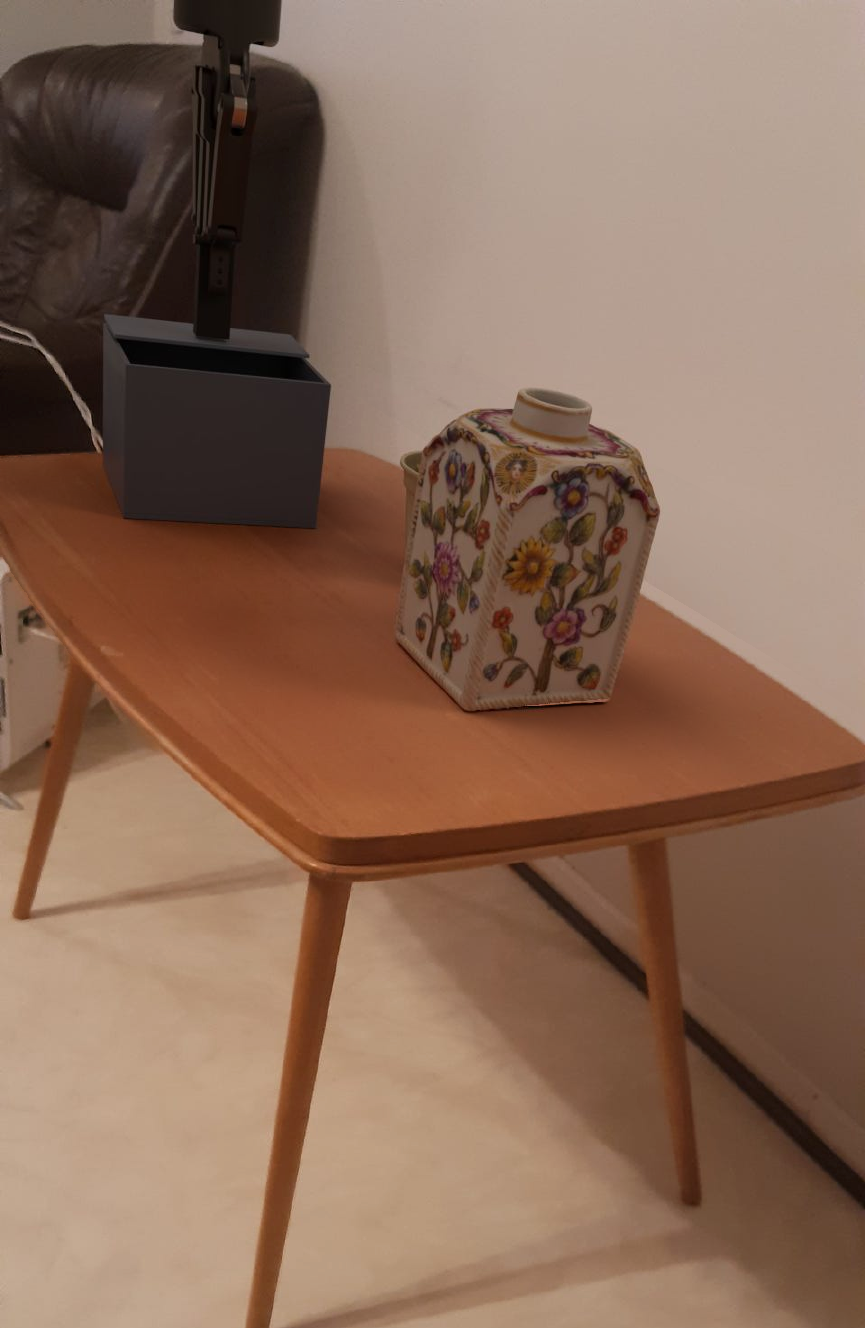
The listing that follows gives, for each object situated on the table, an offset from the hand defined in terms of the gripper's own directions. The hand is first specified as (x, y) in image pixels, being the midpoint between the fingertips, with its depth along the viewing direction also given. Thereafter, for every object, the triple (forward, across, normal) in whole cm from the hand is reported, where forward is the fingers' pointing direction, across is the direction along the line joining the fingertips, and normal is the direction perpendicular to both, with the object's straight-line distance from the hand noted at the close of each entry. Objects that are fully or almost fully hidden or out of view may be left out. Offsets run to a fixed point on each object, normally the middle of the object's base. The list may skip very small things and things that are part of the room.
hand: (211, 335), depth 99 cm
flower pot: (+13, +19, +16) cm, 28 cm away
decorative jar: (+13, +36, +14) cm, 41 cm away
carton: (+12, +2, 0) cm, 12 cm away
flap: (+1, -1, 0) cm, 2 cm away
